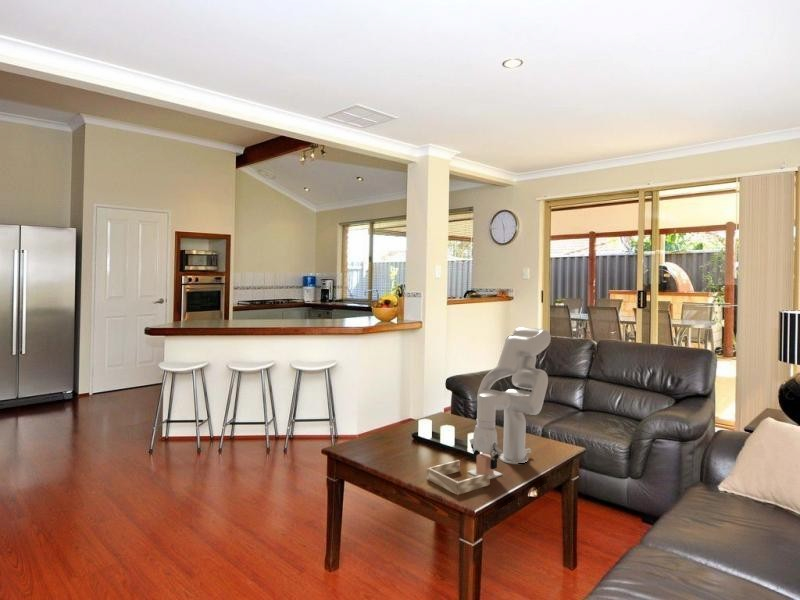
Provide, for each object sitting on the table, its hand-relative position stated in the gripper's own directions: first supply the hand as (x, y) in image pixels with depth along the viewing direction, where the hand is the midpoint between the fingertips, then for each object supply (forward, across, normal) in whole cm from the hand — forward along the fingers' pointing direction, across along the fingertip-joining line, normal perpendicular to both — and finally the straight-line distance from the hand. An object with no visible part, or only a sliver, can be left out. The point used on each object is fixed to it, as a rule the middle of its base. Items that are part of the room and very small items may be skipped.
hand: (484, 464), depth 215 cm
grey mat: (+4, 0, 0) cm, 4 cm away
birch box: (+4, 0, -14) cm, 15 cm away
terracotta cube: (+3, 0, 0) cm, 3 cm away
